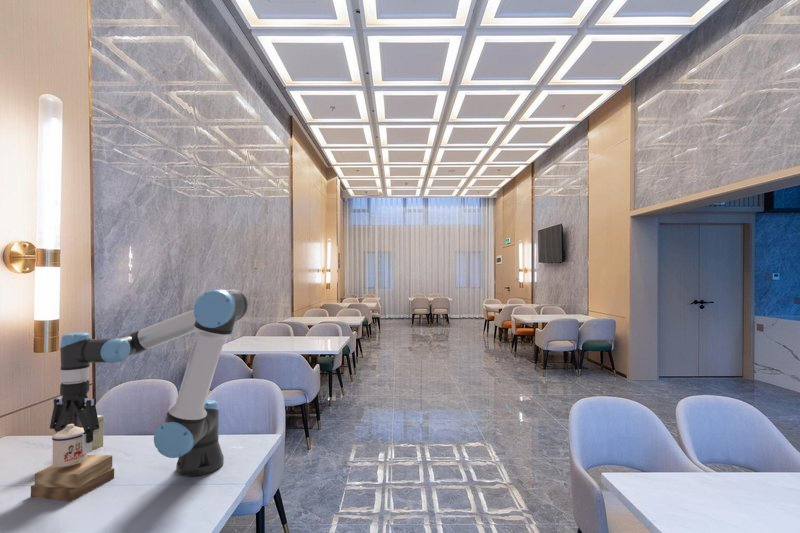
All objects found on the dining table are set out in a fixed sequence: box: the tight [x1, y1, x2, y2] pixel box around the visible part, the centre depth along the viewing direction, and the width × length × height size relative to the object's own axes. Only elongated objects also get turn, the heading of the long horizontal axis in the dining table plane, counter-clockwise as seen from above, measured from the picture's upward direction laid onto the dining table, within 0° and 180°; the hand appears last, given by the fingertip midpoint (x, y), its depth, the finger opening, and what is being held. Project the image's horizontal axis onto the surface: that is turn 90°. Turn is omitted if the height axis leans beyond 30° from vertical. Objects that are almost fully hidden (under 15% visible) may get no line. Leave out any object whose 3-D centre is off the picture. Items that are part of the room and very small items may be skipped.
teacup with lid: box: [51, 424, 94, 467], centre depth 135 cm, size 12×9×12 cm
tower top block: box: [34, 454, 113, 488], centre depth 135 cm, size 14×14×4 cm
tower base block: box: [30, 467, 115, 502], centre depth 135 cm, size 15×15×4 cm
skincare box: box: [88, 414, 105, 451], centre depth 167 cm, size 6×4×12 cm
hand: (74, 451), depth 135 cm, fingers closed on teacup with lid, 9 cm apart
